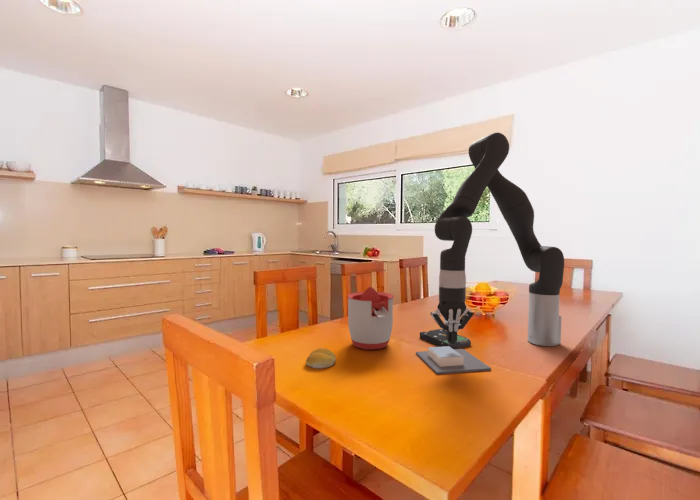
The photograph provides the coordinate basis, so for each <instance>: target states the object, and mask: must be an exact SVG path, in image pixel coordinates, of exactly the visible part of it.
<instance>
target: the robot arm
mask: <svg viewBox="0 0 700 500" xmlns="http://www.w3.org/2000/svg"><path fill="white" fill-rule="evenodd" d="M509 153H510V143H509V140H508V139H507V137H506V136H505V135H504V134H503V133H501V132H492V133H490V134H487V135H485V136H483V137H481V138H479V139H477V140H475V141H473V142H472V143H471V144H469V147H468V157H469V159H470V162H471V164H472V165H473V167H474V170H473V171H472V172H471V173H470V174H469V175H468V176H467V177H466V178H465V180H464V181H463V182H462V183H461V185H460V186H459V188H457V189H458V190H457V191H456V194H455V195H454V197H453V200H452V202H451V203H450V204H449V205H448V206H447V207H446V209H444V211H443V212H442V213H441V214H440V215H439V216H438V218H437V220H436V222H435V223H434V224H435V225H434V235H435V236H436V238H437V239H438V240H440V241H444V242H445V241H446V242H447V241H449V242H453V243H452V246H451V247H450V248H445V249H442V250H441V252H440V254H439V255H440V256H439V276H438V305H437V309H436V310H434V311H431V312H430V314H429V315H430V316H431V318H432V319H433V320H434V321H435V323H436V324H437V325H438V326H439V329H443V330H446V340H447V341H448V343H449V344H455V343H456V342H457V335H458V331H459V330H463V329H464V328H465V327H466V325H467V324H468V323H469V321H470V320H471V319H472V317H473V316H474V312H472V311H470V310H469V309H468V308H467V305H466V300H467V299H466V293H467V292H466V291H467V290H466V289H467V288H466V287H467V286H466V285H467V277H466V276H467V274H466V255H467V251H468V247H469V244H470V241H471V238H472V234H473V225H472V222H471V220H470V219H469V217H471V216H472V215H473V214H475V211H476V210H477V209H476V208H478V204H479V202H480V201H481V198H482V195H484V193H485V190H486V188H487V189H488V190H489V192H490V193H491V196H492V197H493V199H494V201H495V203H496V205H497V207H498V209H499V211H500V213H501V215H502V217H503V219H504V220H505V222H506V224H507V226H508V228H509V230H510V232H511V234H512V235H513V237H514V239H515V241H516V245H517V247H518V249H519V251H520V256H521V258H522V260H523V263H524V264H525V265H526V267H527V269H529V270H530V271H531V272H535V273H539V274H538V275H539V276H538V279H537V280H536V281H534V282H531V283H530V284H529V285H528V309H527V310H528V313H527V315H528V319H527V341H528V342H529V343H530V344H534V345H536V346H543V347H556V346H558V345H561V344H562V342H561V341H562V340H561V339H562V316H561V315H560V291H561V288H562V286H563V284H564V283H563V282H564V273H565V272H564V271H565V256H564V253H563V251H562V250H561V249H560V248H559V247H556V246H545V245H541V243H540V242H539V240H538V239H537V236H536V234H535V231H534V222H535V210H534V207H533V206H532V203H531V201H530V199H529V197H528V195H527V194H526V192H525V191H524V190H523V189H522V188H521V187H520V186H518V185H517V184H515V183H513V182H512V181H511V180H509V179H507V178H506V177H505V176H504V175H503V174H502V173H501V172H500V171H499V169H500V167H501V166H502V164H503V163H504V162H505V160H506V158H507V157H508V155H509ZM441 316H442V317H443V320H442V318H441Z"/></svg>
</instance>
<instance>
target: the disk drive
mask: <svg viewBox="0 0 700 500" xmlns="http://www.w3.org/2000/svg"><path fill="white" fill-rule="evenodd" d="M419 339H421V340H423V341H426V342H428V343H430V344H433V345H435V346H436V347H443V346H450V347H451V348H452V349H463V348H466V347H469V346H470V347H471V345H472V341H471V340H470V338H468V337H466V336H463V335H460V334H457V342H456V343H455V344H449V343H448V341H447V340H446V330H443V329H442V328H438V329H433V330H428V331H421V332H419Z"/></svg>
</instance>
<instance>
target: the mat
mask: <svg viewBox="0 0 700 500" xmlns="http://www.w3.org/2000/svg"><path fill="white" fill-rule="evenodd" d="M454 350H455V351H456V352H458V353H459V354H461V355H462V356H463V357H464V363H463V365H457V366H443V367H440V366H439V365H438V364H437V363H436V362H435V361H433V360H432V359H431V358H430V357H429V356H428V350H425V351H423V350H422V351H415V355H417V357H418V358H419V359H421V361H423V362H424V363H425V364H426V366H428V368H430V369H431V370H432V371H433V372H434V373H435V374H436V375H444V374H457V373H459V374H460V373H471V372H483V371H485V372H486V371H488V372H489V371H491V370H492V367H490V366H489V365H488V364H486V363H484V362H483V361H481V360H480V359H479V358H477V357H476V356H474V355H473V354H471V353H470V352H469V351H467V350H466V349H464V348H457V349H454Z"/></svg>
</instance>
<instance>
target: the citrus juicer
mask: <svg viewBox="0 0 700 500" xmlns="http://www.w3.org/2000/svg"><path fill="white" fill-rule="evenodd" d="M394 298H395V297H394V295H393V294H391V293H389V292H388V293H387V292H383V291H377V290H375V288H374V287H372V286H369V287H367V288H366V289H365V291H359V292H357V291H356V292H352V293H349V294H347V320H348V321H347V322H348V323H347V324H348V330H349V331H348V332H349V334H350V335H349V336H350V339H351V342H352V344H353V346H354V347H356V348H358V349H362V350H363V351H369V350H380V349H383V348H386V347H387V346H388V344H389V343H390V340H391V335H392V331H393V330H392V329H393V325H394V324H393V323H394V322H393V319H394V317H393V315H394V313H393V309H394V307H393V306H394Z"/></svg>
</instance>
